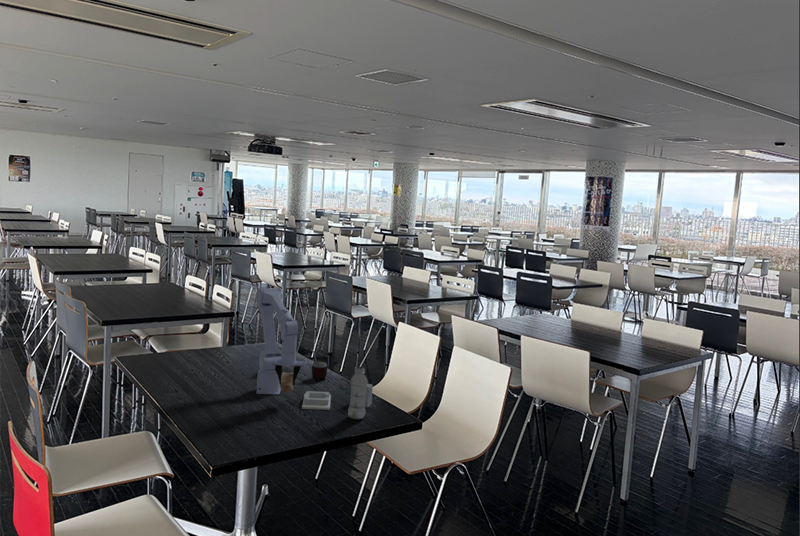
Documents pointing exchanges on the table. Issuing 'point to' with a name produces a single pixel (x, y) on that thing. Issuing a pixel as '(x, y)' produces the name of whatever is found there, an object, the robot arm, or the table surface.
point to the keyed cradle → (316, 400)
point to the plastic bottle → (358, 394)
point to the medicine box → (368, 395)
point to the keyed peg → (286, 382)
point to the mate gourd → (319, 369)
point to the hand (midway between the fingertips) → (287, 384)
